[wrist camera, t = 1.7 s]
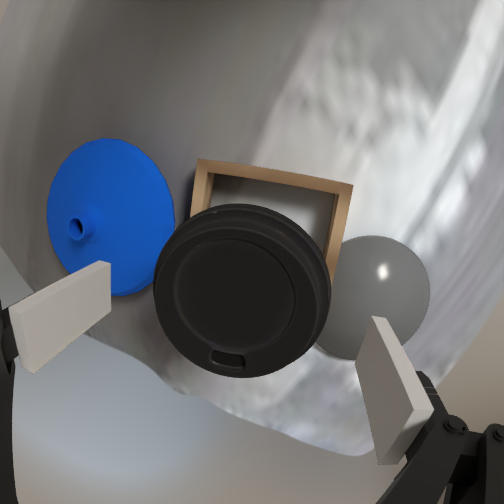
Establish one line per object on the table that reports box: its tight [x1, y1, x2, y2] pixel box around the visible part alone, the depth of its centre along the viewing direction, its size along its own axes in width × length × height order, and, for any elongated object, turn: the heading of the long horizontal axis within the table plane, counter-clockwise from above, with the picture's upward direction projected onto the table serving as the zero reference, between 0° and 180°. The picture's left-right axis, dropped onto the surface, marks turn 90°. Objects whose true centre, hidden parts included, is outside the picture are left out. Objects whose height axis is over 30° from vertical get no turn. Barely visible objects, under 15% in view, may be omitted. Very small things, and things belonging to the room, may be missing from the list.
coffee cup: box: [153, 204, 331, 378], centre depth 21 cm, size 9×9×15 cm
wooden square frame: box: [190, 159, 353, 285], centre depth 27 cm, size 13×13×2 cm
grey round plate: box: [316, 236, 430, 360], centre depth 28 cm, size 13×13×1 cm
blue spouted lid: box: [47, 138, 175, 296], centre depth 27 cm, size 16×16×7 cm
